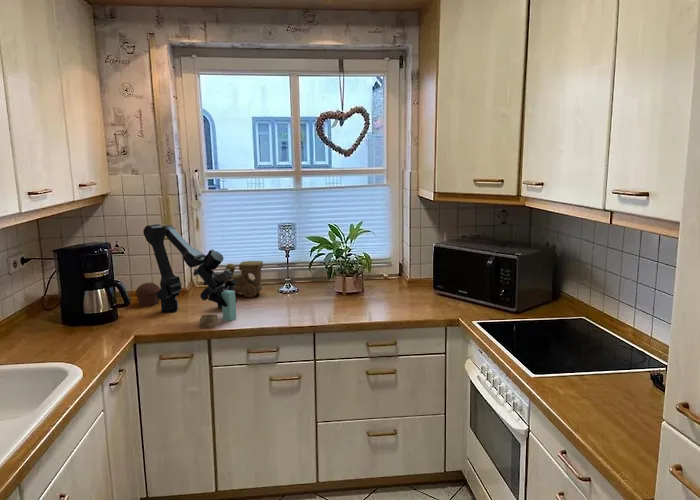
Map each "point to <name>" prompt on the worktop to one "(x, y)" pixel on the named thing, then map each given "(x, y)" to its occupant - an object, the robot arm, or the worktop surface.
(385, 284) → the worktop surface
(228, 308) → the tall block
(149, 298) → the muffin
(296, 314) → the worktop surface
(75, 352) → the worktop surface
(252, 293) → the wooden toy train
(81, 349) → the worktop surface
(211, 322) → the base block
